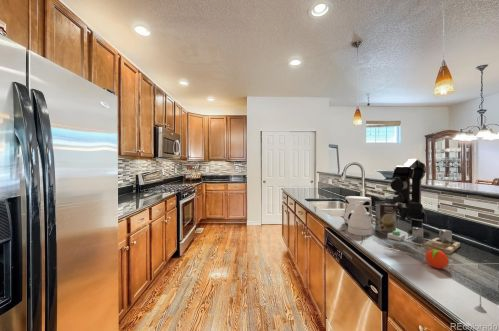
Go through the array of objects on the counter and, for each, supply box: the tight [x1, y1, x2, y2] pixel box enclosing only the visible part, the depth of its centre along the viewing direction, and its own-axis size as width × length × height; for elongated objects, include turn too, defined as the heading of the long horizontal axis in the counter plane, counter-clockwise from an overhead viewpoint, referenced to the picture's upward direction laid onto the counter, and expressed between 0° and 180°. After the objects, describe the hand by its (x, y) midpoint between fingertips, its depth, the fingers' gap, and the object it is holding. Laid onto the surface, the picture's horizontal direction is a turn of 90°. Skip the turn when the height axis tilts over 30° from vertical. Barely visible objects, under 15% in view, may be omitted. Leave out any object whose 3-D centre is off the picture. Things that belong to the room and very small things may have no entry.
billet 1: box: [411, 227, 424, 243], centre depth 116 cm, size 5×5×7 cm
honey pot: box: [347, 201, 373, 237], centre depth 132 cm, size 13×13×18 cm
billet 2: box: [438, 228, 453, 245], centre depth 110 cm, size 5×5×7 cm
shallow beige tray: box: [423, 237, 461, 255], centre depth 107 cm, size 17×9×3 cm, turn 126°
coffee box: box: [374, 202, 397, 233], centre depth 136 cm, size 9×6×16 cm
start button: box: [393, 230, 401, 236], centre depth 120 cm, size 3×3×2 cm
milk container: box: [343, 195, 374, 225], centre depth 148 cm, size 17×17×18 cm
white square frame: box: [387, 232, 406, 242], centre depth 120 cm, size 6×6×3 cm
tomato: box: [425, 249, 449, 269], centre depth 87 cm, size 8×7×7 cm
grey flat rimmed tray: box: [401, 235, 432, 247], centre depth 116 cm, size 13×9×1 cm
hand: (402, 219), depth 118 cm, fingers closed
